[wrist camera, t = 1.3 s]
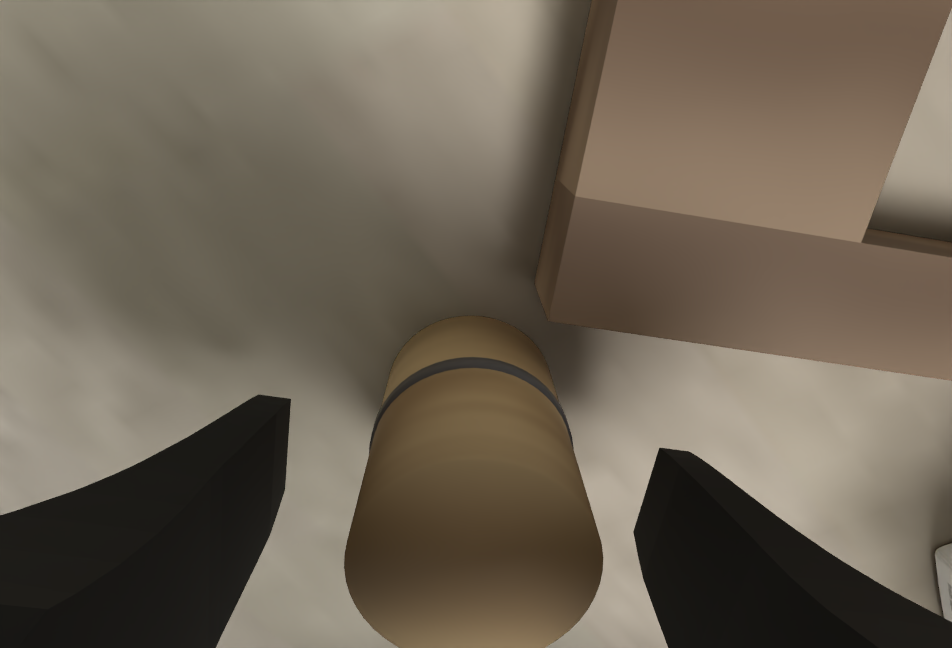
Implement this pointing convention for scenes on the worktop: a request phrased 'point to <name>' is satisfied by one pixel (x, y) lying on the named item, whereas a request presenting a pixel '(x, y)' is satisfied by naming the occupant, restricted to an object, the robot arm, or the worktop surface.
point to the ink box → (945, 578)
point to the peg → (472, 498)
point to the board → (748, 181)
